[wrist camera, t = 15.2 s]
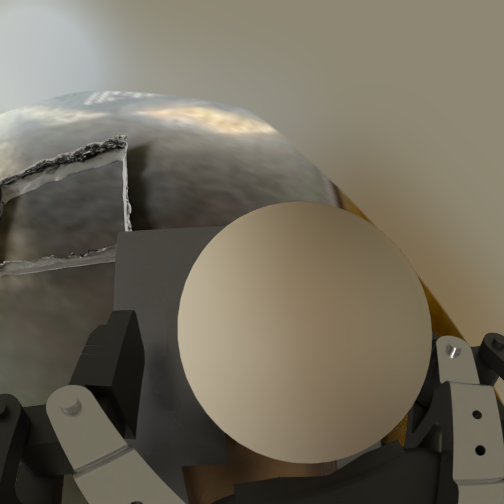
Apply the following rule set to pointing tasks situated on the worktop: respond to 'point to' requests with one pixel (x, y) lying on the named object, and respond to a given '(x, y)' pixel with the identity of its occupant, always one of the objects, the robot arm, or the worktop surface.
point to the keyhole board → (183, 377)
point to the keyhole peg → (304, 332)
